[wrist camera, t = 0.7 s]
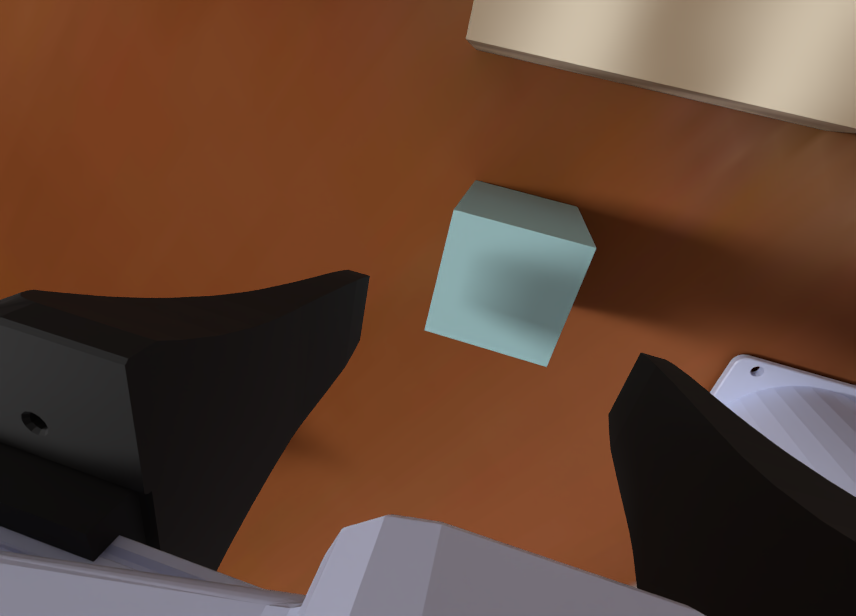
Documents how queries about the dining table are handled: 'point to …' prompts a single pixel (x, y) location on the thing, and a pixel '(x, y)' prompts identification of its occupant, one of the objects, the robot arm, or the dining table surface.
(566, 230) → the teal block
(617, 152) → the dining table surface
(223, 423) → the robot arm
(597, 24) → the flat cream rectangular board
